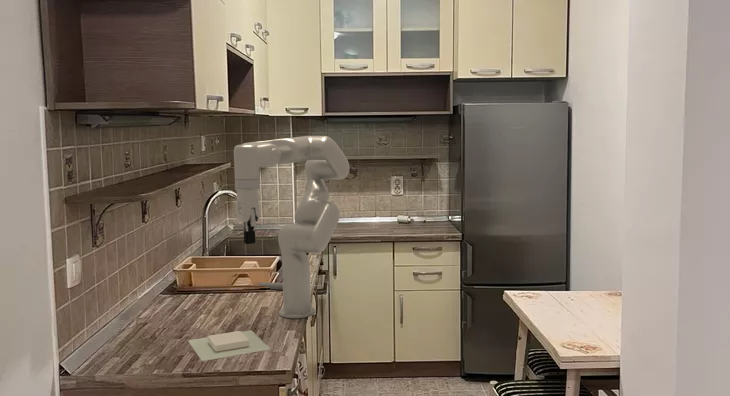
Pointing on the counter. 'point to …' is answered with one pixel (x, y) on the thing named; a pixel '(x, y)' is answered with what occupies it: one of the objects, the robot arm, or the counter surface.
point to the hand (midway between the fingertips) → (249, 243)
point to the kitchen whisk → (280, 285)
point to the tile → (228, 341)
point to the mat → (208, 352)
